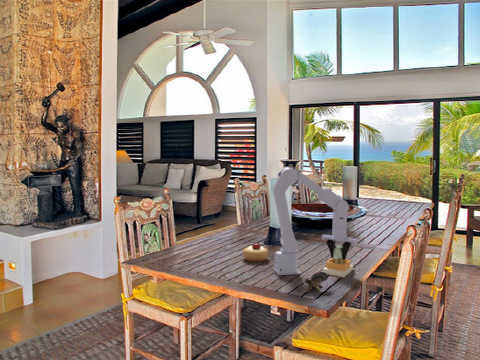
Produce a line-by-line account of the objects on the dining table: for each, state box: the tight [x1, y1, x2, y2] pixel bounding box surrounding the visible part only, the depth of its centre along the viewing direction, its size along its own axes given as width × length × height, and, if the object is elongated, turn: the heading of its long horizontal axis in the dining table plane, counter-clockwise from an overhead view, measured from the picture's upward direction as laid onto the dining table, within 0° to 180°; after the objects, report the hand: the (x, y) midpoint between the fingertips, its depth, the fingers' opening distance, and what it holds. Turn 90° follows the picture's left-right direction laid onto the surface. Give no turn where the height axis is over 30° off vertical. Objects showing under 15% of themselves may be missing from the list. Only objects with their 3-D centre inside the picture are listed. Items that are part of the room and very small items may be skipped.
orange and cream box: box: [322, 257, 354, 278], centre depth 171 cm, size 12×9×4 cm
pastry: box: [242, 240, 269, 263], centre depth 188 cm, size 12×12×9 cm
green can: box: [333, 245, 344, 264], centre depth 170 cm, size 4×4×7 cm
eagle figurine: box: [301, 271, 329, 293], centre depth 150 cm, size 8×7×9 cm
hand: (338, 258), depth 170 cm, fingers closed on green can, 4 cm apart
